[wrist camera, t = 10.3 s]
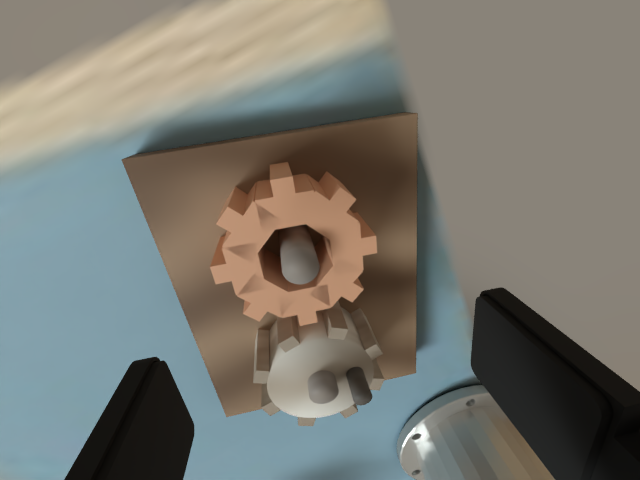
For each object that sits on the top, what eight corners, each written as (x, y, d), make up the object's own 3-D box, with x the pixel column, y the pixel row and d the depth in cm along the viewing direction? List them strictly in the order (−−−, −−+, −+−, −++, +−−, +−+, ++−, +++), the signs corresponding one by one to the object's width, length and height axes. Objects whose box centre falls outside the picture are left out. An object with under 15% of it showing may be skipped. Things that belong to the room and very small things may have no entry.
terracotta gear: (362, 276, 18) (380, 309, 15) (239, 301, 18) (233, 339, 15) (352, 151, 15) (372, 163, 12) (201, 175, 15) (185, 194, 12)
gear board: (407, 357, 24) (451, 437, 18) (229, 398, 23) (216, 496, 17) (405, 112, 16) (478, 117, 11) (134, 154, 15) (54, 186, 9)
